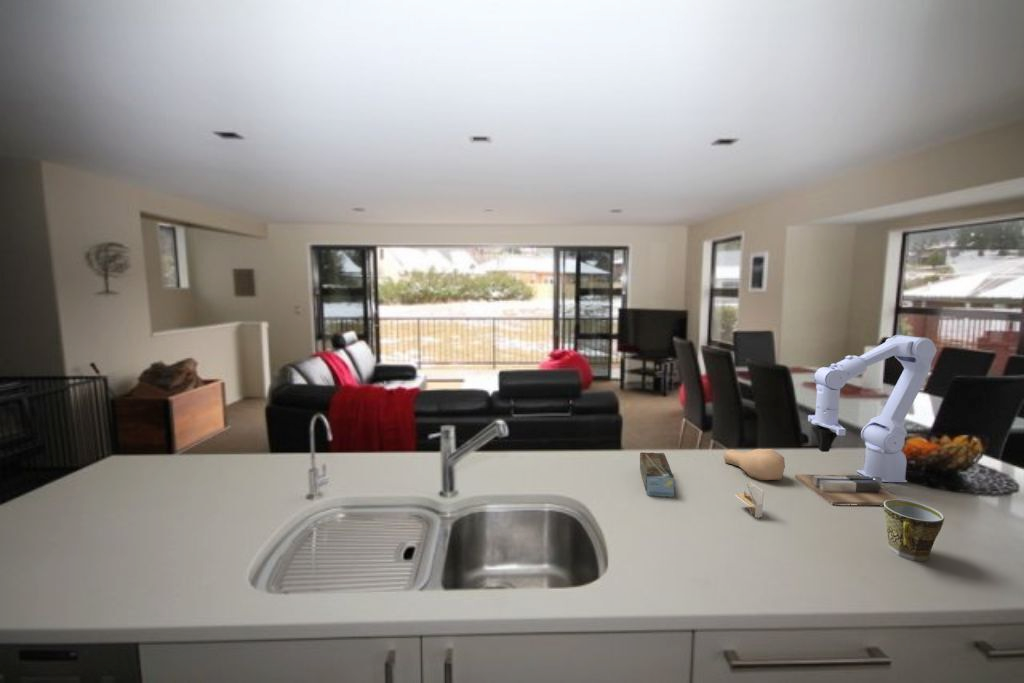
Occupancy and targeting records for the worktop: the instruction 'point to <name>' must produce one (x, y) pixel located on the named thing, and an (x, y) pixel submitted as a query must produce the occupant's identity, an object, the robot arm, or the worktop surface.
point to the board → (847, 493)
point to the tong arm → (845, 479)
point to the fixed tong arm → (849, 486)
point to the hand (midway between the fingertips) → (824, 451)
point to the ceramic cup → (911, 528)
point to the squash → (758, 463)
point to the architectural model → (753, 500)
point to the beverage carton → (656, 474)
